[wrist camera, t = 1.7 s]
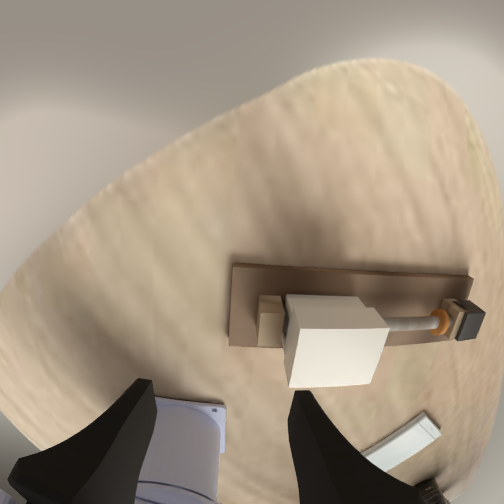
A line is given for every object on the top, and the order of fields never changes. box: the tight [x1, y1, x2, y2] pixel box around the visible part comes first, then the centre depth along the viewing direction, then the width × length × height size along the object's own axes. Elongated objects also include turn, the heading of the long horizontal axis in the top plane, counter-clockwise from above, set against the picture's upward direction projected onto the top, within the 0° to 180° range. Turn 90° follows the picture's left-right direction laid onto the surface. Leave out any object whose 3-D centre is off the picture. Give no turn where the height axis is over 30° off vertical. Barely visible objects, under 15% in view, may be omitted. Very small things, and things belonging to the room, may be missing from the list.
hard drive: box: [361, 412, 442, 472], centre depth 27 cm, size 2×8×12 cm
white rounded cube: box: [281, 294, 390, 388], centre depth 17 cm, size 5×4×5 cm
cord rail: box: [229, 263, 486, 348], centre depth 19 cm, size 20×6×4 cm, turn 86°
